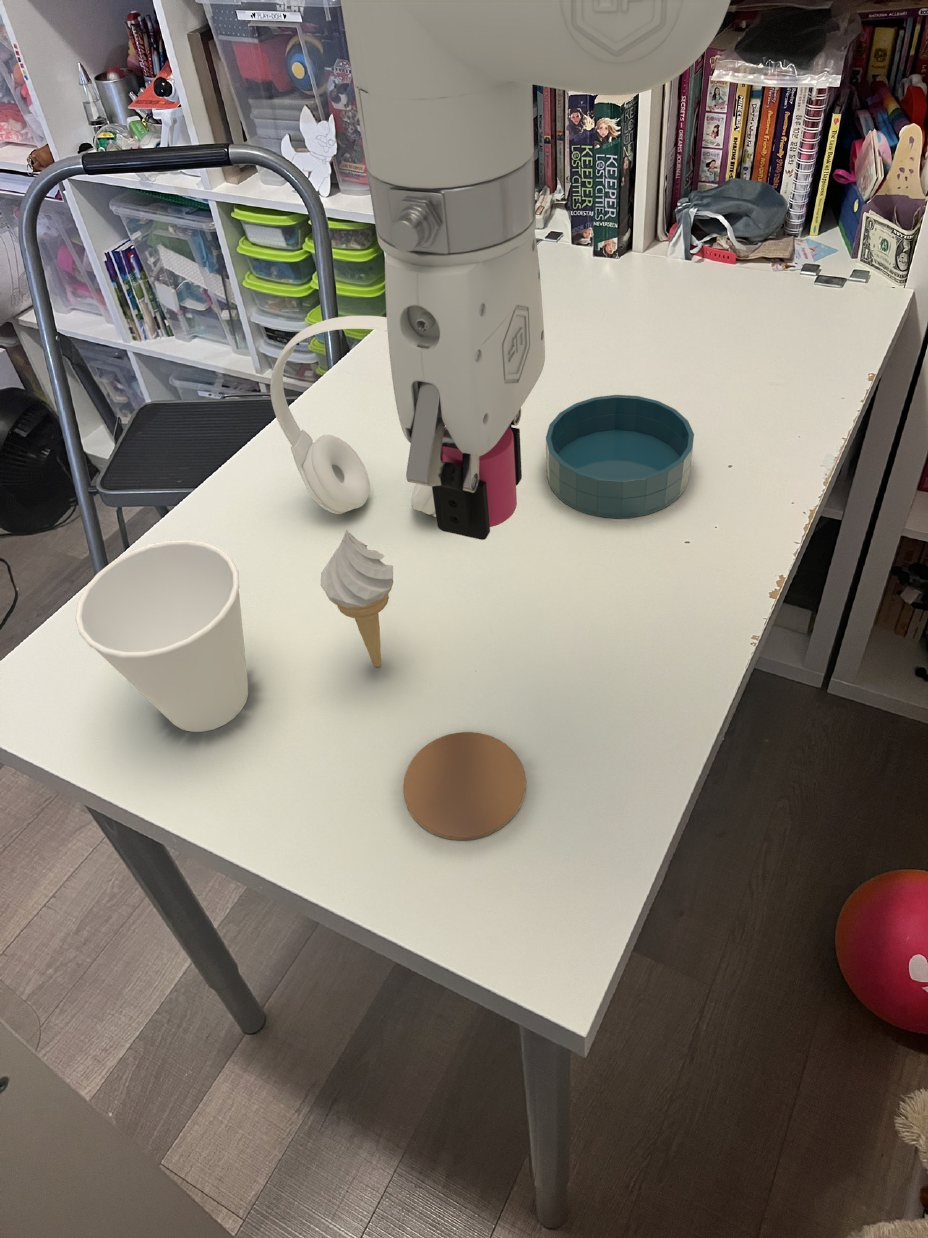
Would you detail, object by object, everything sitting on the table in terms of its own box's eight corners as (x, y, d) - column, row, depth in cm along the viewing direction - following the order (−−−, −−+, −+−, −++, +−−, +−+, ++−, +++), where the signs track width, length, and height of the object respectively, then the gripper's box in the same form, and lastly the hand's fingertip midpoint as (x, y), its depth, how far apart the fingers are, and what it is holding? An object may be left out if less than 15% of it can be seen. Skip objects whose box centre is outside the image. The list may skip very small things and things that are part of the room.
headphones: (313, 481, 92) (265, 300, 77) (488, 485, 89) (472, 298, 74) (294, 527, 87) (240, 343, 72) (478, 533, 84) (460, 343, 70)
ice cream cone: (331, 673, 74) (291, 539, 63) (373, 630, 77) (341, 495, 66) (383, 701, 71) (351, 567, 60) (424, 656, 74) (400, 519, 63)
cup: (194, 629, 79) (146, 524, 70) (306, 667, 74) (270, 560, 65) (105, 731, 72) (38, 628, 63) (223, 778, 67) (170, 676, 58)
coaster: (495, 719, 69) (495, 715, 69) (546, 811, 63) (546, 807, 63) (387, 762, 67) (386, 758, 67) (430, 860, 61) (429, 856, 61)
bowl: (642, 417, 95) (645, 380, 91) (716, 490, 86) (723, 452, 82) (524, 456, 92) (522, 419, 89) (588, 535, 83) (589, 498, 79)
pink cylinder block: (499, 475, 56) (495, 407, 52) (528, 515, 53) (525, 446, 49) (434, 495, 55) (425, 428, 51) (460, 537, 52) (452, 469, 49)
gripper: (454, 295, 34) (485, 615, 48) (588, 136, 45) (582, 437, 58) (290, 274, 37) (363, 584, 50) (452, 128, 47) (477, 418, 60)
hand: (480, 502), depth 54 cm, fingers closed on pink cylinder block, 4 cm apart
